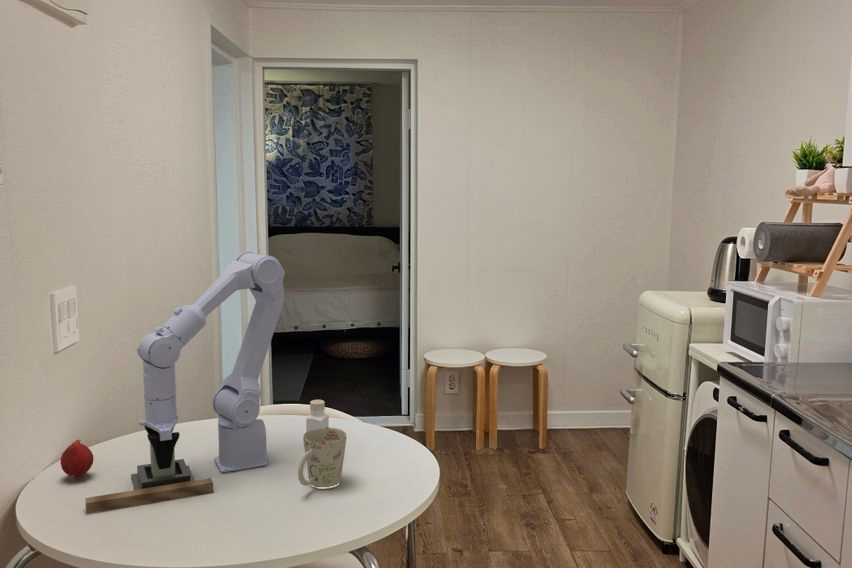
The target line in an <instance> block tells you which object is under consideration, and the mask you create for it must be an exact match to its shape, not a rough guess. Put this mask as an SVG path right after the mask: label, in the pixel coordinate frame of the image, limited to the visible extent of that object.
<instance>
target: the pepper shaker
mask: <svg viewBox="0 0 852 568" xmlns="http://www.w3.org/2000/svg"><path fill="white" fill-rule="evenodd" d="M325 402H326V401H324V400H322V399H313V400H311V401H310V402H309V409H310V410H309V411H310V414H308V415H307V417H306V419H305V422H306V423H305V426H306V427H305V428H306V429H305V430H306V431H305V433H306V432H307V431H309V430H312V429H316V428H325V427H328V428H330V426H329V425H330V423H329V422H330V420H329V415H328V414H326V413H325V411H326V410H325V409H326V408H325Z"/></svg>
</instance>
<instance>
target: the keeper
mask: <svg viewBox="0 0 852 568" xmlns="http://www.w3.org/2000/svg"><path fill="white" fill-rule="evenodd" d="M136 472H137V473H131V474H130V477H131V483H132V486H133V487H132V488H133V490H138V489H144V488H151V487H157V486H163V485H169V484H175V483H182V482H188V481H194V480H196V479H195V477H194V474H193V473H192V470H191V467H190V465H187V464H186V462H185V459H184V458H181V459H175V475H172V476H166V477H159V478H153V476H152V472H151V463H147V464H145V463H144V464H140V465H137V466H136Z"/></svg>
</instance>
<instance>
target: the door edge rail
mask: <svg viewBox="0 0 852 568" xmlns="http://www.w3.org/2000/svg"><path fill="white" fill-rule="evenodd" d="M212 493H214V481H213V480H212V477H208V478H201V479H195V480H194V481H188V482H182V483H175V484H169V485H163V486H157V487H151V488H144V489H138V490H134V489H132V490H127V491H121V492H114V493H108V494H102V495H95V496H89V497H85V499H84V500H85V501H84V502H85V514H86V515H89V514H94V513H95V514H96V513H100V512H101V513H102V512H107V511H112V510H113V511H114V510H118V509H124V508H130V507H137V506H142V505H149V504H155V503H160V502H165V501H172V500H178V499H183V498H188V497H189V498H190V497H194V496H200V495H207V494H212Z"/></svg>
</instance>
